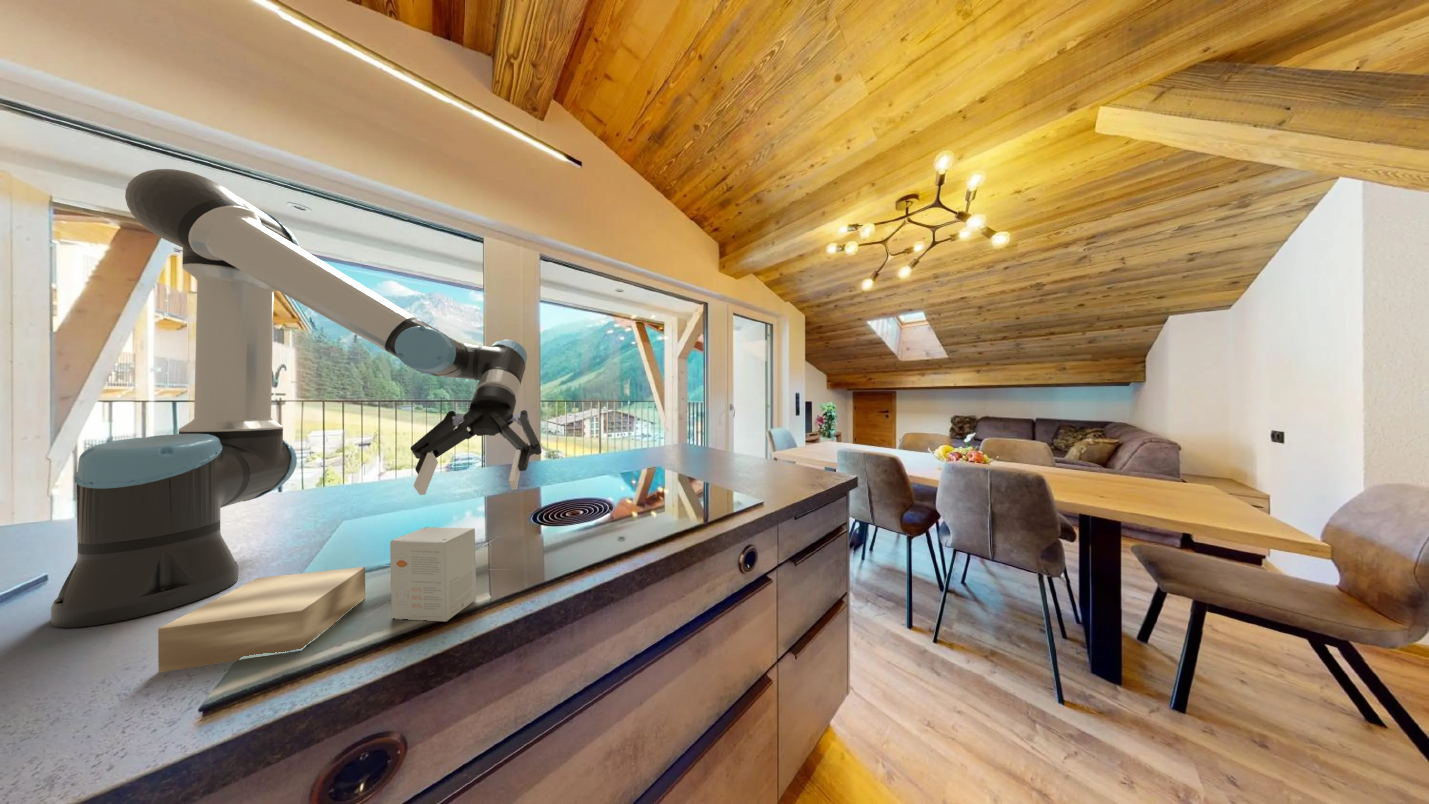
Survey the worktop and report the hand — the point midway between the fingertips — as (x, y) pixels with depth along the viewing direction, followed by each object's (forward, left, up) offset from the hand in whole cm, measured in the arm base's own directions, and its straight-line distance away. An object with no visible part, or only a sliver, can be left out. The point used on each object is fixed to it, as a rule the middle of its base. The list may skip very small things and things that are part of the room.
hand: (467, 487), depth 62 cm
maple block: (+9, -18, -15) cm, 25 cm away
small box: (+10, -1, -15) cm, 18 cm away
